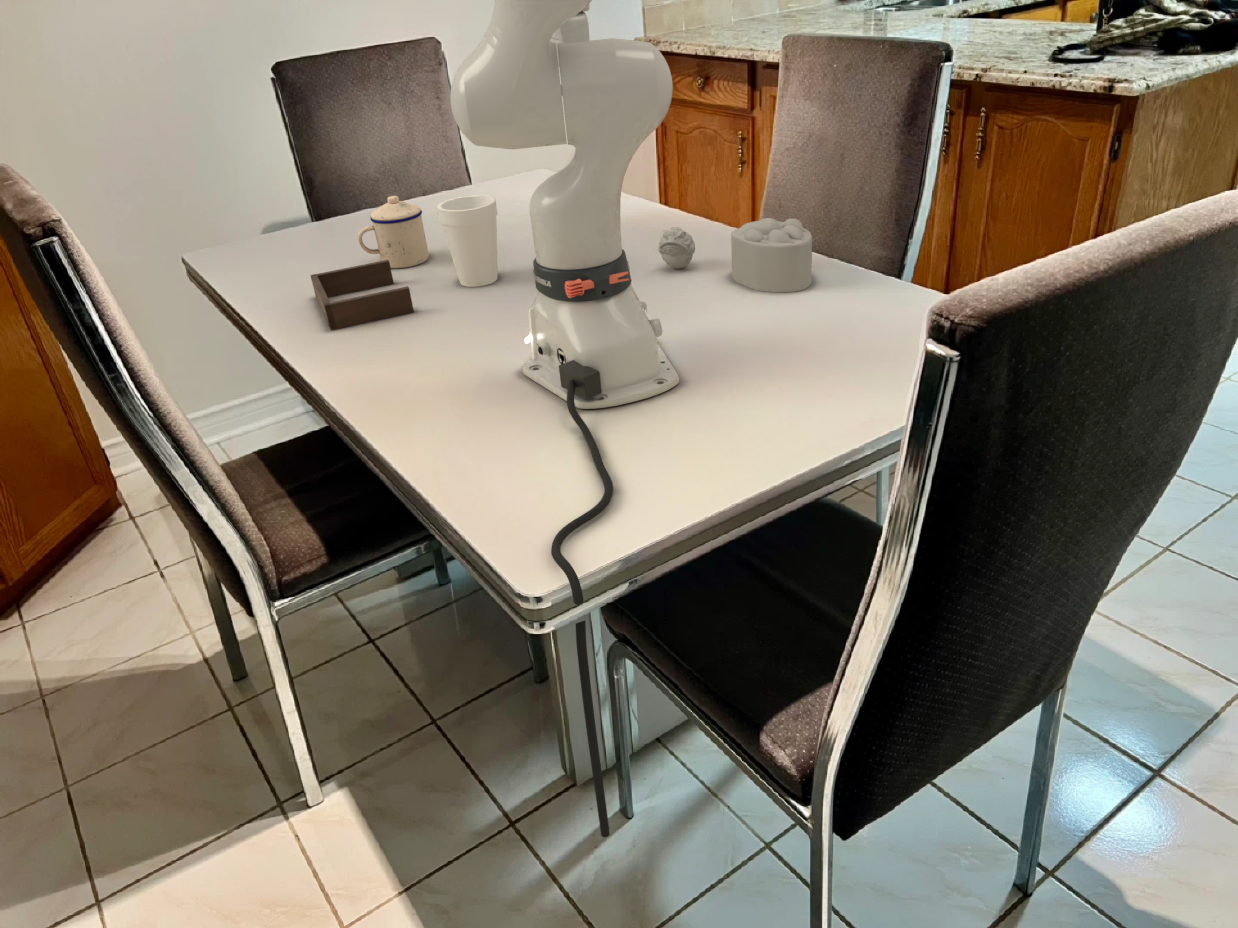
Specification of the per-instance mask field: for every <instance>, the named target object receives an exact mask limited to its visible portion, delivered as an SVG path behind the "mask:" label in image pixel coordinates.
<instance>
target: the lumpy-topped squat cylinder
mask: <svg viewBox="0 0 1238 928" xmlns="http://www.w3.org/2000/svg"><path fill="white" fill-rule="evenodd" d="M730 234H731V236H730V242H731V243H730V244H731V245H730V246H731V247H730V248H731V278H732V280H733V281H734V282H736V283H738V284H740V285H741V286H744V287H747V288H749V289H751V290H756V291H758V292H759V291H760V292H770V293H794V292H800V291H803V290H806V289H808V288H809V287H810V286H811V284H812V272H813V271H812V269H813V265H812V264H813V235H812V234H811V232H810V230H809V229H806V228H804V227H803V224H802V222H801V221H800V220H798V219H797V218H788V219H786V220H785V221H778V220H776V219H774V218H773V217H765V218H762V219H760V220H755V221H751V222H746V223H744V224H743V225H742V226H740V227H739V228H736V229H734V230H733V231H731V233H730Z"/></svg>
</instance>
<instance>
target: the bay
mask: <svg viewBox="0 0 1238 928" xmlns="http://www.w3.org/2000/svg"><path fill="white" fill-rule="evenodd" d="M392 272H393V271H392V268H391V267H390V263H389V260H384V261H381V260H379V261H374V262H369V263H364V264H359V265H354V266H350V267H344V268H339V269H335V270H330V271H323V272H319V273H314V274H310V280H311V283H312V287H313V291H314V295H315V298H316V301H317V303H318V305H319V307H320V310H321V312H322V314H323V316H324V319H325V322H326V323H327V326H328V329H330V331H334V330H339V329H344V328H347V327H352V326H353V327H354V326H357V325H361V324H362V325H363V324H367V323H370V322H377V321H380V320H385V319H388V318H389V319H390V318H393V317H398V316H403V315H407V314H412V313H414V312H415V311H414V310H415V309H414V305H413V301H412V296H411V290H410V287H409V285H408V286H403V287H398V288H393V289H387V290H383V291H379V292H374V293H369V294H364V295H359V296H355V297H350V298H345V299H340V300H336V301H335V300H334V301H330V299H329V298H330V297H336V296H340V295H345V294H351V293H355V292H360V291H366V290H369V289H375V288H379V287H380V288H381V287H384V286H389V285H393V284H395V282H394V278H393V273H392Z"/></svg>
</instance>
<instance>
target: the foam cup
mask: <svg viewBox="0 0 1238 928" xmlns="http://www.w3.org/2000/svg"><path fill="white" fill-rule="evenodd" d="M496 200H497V199H496V198H494V197H493V196H489V195H484V194H483V195H481V194H480V195H479V194H477V195H476V194H475V195H465V196H458V197H454V198H450V199H446V200H444V201H442V202H440V203H438V205H437V206H436V210H437V211H436V212H437V217H438V221H439V223H440V224H441V227H442V230H443V233H444V236H445V237H444V238H445V239H446V243H447V246H448V249H449V252H450V255H451V259H452V262H453V265H454V267H455V268H454V269H455V271H456V274H457V278H458V280H459V283H460V285H461V286H464V287H468V288H469V287H470V288H472V287H473V288H475V287H476V288H478V287H485V286H488V285H491V284H493V283H495V282H496V281H497V280H498V278H499V277H498V269H499V268H498V233H497V232H498V228H497V227H498V225H497V223H498V222H497V221H498V220H497V216H498V213H499V212H498V207H497V201H496Z"/></svg>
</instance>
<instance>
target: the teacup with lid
mask: <svg viewBox="0 0 1238 928" xmlns="http://www.w3.org/2000/svg"><path fill="white" fill-rule="evenodd" d="M422 214H423V211H422V209H421V207H420V206H418V205H416V204H413V203H408V202H406V201H403V200H400V198H399V196H397V195H390V196H387V202H386V203H384V204H383V205H382V206H380V207H379V208H377V209H375V210H373V211H372V213H371V214H370V218H369V219H370V221H371V222H372V225H367V226H364V227H362V228H361V229H360V230H359V231H358V233H357V241H358V245H359V246H360V247H361V249H362V250H363V251H364V252H366V253H368V254H371V255H379V259H380V261H384V260H389V263H390V267H391V269H404V268H411V267H415V266H418V265H421V264H423V263H425V262H426V261H427V260H428V259H429V257H430V253H429V248H428V243H427V238H426V233H425V227H424V223H423V216H422ZM371 231H374V235H375V240H376V244H377V245H376V246H377V248H374V249H373V248H370V247H367V246H366V245H365V243H364V242H363V235H364V234H365V233H367V232H371Z"/></svg>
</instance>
